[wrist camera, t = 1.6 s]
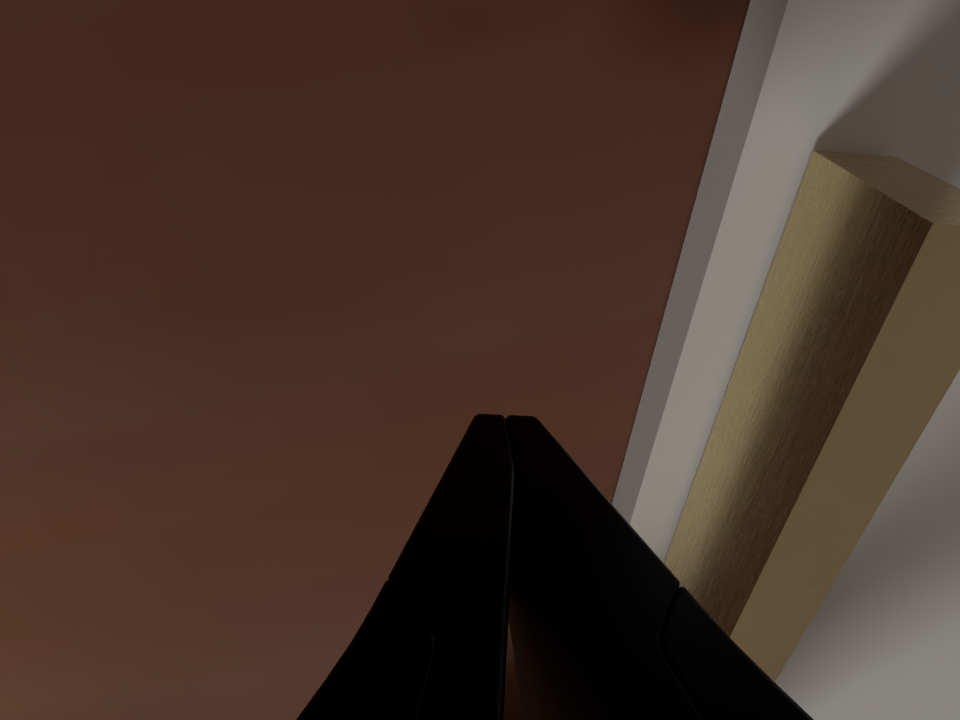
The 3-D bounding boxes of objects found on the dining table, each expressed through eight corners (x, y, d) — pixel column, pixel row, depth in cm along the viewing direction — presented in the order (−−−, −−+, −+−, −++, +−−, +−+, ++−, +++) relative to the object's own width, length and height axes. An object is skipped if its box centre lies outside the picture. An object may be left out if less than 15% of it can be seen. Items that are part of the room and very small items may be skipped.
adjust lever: (705, 680, 21) (746, 799, 18) (585, 679, 21) (607, 800, 18) (958, 161, 12) (1121, 236, 9) (749, 145, 12) (848, 217, 9)
